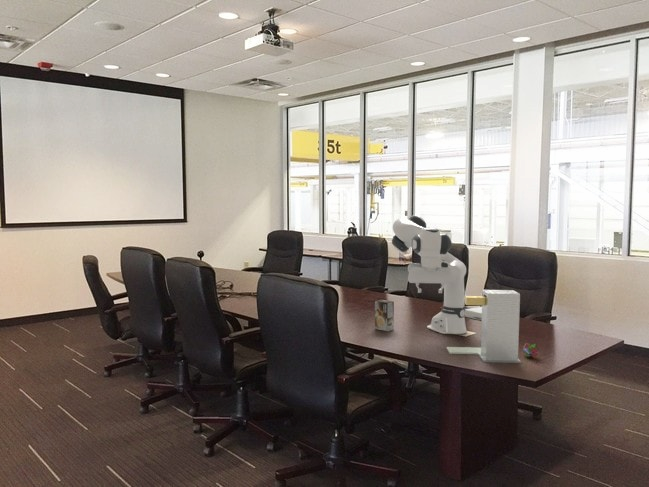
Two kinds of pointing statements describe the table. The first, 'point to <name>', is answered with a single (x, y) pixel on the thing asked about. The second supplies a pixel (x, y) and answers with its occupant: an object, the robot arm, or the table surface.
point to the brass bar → (475, 300)
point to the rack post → (500, 326)
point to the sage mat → (463, 350)
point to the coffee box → (384, 315)
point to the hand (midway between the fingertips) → (429, 292)
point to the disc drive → (474, 313)
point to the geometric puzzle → (530, 350)
